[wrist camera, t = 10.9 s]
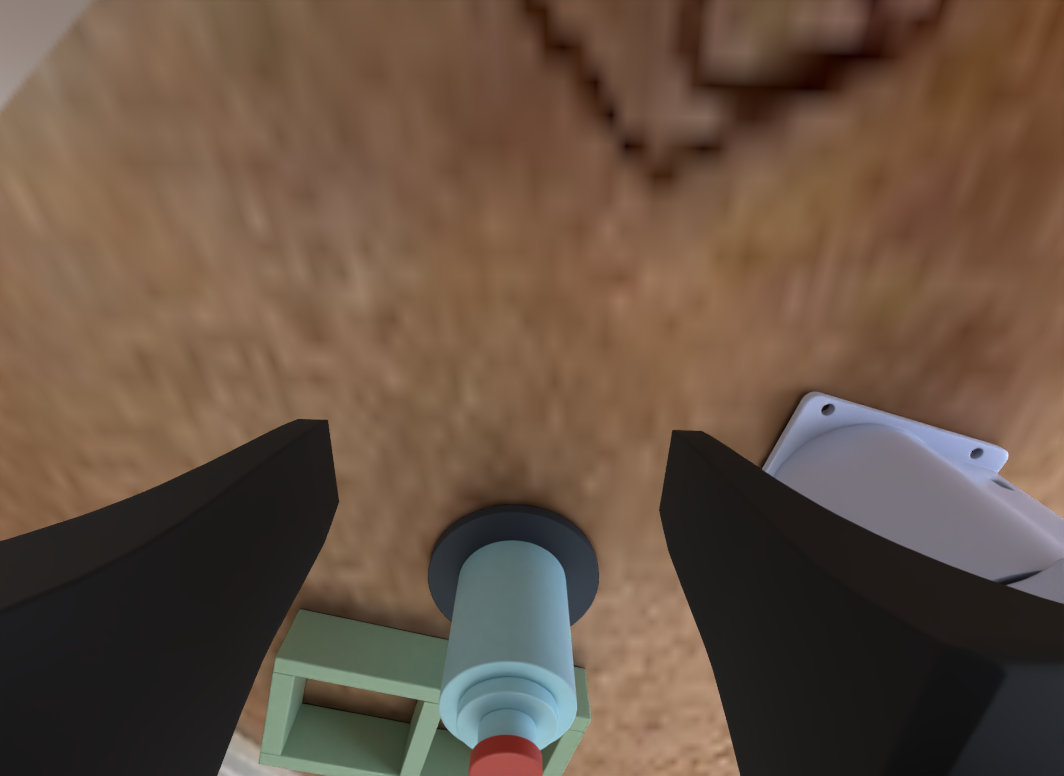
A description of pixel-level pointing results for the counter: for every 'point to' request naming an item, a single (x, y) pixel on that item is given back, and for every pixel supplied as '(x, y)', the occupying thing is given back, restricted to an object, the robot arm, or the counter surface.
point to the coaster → (520, 527)
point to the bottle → (509, 659)
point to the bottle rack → (364, 741)
